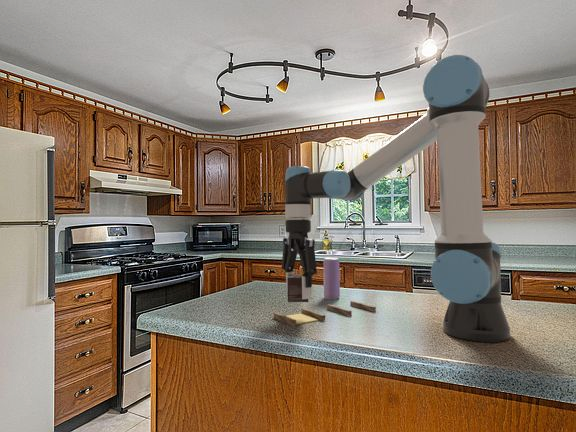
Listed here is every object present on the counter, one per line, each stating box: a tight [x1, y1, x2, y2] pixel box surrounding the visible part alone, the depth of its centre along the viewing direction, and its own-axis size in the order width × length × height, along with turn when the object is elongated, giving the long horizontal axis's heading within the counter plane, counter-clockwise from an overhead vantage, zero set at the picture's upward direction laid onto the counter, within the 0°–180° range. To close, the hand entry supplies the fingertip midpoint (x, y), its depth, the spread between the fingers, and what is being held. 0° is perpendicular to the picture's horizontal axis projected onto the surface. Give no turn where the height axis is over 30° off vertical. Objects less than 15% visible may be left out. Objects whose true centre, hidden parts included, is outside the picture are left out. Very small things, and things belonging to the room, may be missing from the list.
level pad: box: [286, 312, 319, 326], centre depth 109 cm, size 9×8×1 cm
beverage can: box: [323, 257, 341, 300], centre depth 139 cm, size 6×6×15 cm
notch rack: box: [273, 300, 377, 327], centre depth 114 cm, size 11×31×2 cm, turn 121°
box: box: [287, 273, 309, 303], centre depth 109 cm, size 6×6×7 cm
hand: (298, 295), depth 109 cm, fingers closed on box, 8 cm apart
